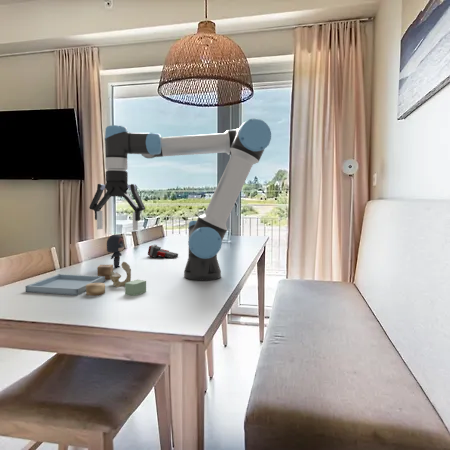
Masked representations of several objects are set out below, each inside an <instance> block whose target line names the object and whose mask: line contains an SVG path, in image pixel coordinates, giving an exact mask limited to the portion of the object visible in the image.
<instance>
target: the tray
mask: <svg viewBox="0 0 450 450" xmlns="http://www.w3.org/2000/svg"><path fill="white" fill-rule="evenodd" d="M105 282H106V280H105V276H98V275H86V274H69V273H68V274H67V273H58V274H55V275H52V276H49V277H47V278H44V279H42V280H39V281H36V282H33V283H30V284H27V285H25V287H24V288H25V293H37V294H38V293H39V294H53V295H71V296H79V295H82V294H83V293H86V285H87V284H90V283H105Z"/></svg>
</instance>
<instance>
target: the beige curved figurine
mask: <svg viewBox="0 0 450 450" xmlns="http://www.w3.org/2000/svg"><path fill="white" fill-rule="evenodd" d="M120 266H121V268H122V270H124V271H125V274H126V277H125V279H124V280H123V281H119V279H120V278H121V277H122V275H121V274H120V273H118V272H114V270H113V271H112V272H110V274H109V275H110V279H111V282H112V286H114V287H115V288H118V287H125V283H127V282H130V281H132V280H131V278H132V269H131V266H130V264H128V263H127V262H126V261H122V263H121V265H120Z"/></svg>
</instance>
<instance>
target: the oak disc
mask: <svg viewBox="0 0 450 450" xmlns="http://www.w3.org/2000/svg"><path fill="white" fill-rule="evenodd" d="M85 293H86V296H92V297H93V296H95V297H96V296H102V295H104V294H106V283H105V282H103V283H90V284H87V285H86V291H85Z"/></svg>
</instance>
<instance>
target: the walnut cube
mask: <svg viewBox="0 0 450 450" xmlns="http://www.w3.org/2000/svg"><path fill="white" fill-rule="evenodd" d="M96 269H97V270H96V271H97V276H105V281H107V280H111V279H110V275H109V274H110V272H112V271H113V272H114V264H100V265H98V266H97V267H96ZM111 281H112V280H111Z"/></svg>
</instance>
